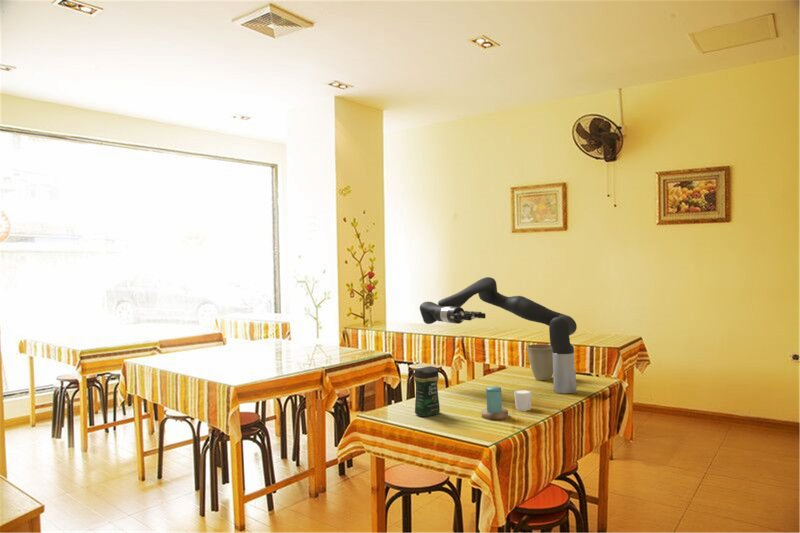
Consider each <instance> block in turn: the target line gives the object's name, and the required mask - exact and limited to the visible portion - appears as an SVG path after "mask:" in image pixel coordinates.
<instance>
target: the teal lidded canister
mask: <svg viewBox="0 0 800 533" xmlns="http://www.w3.org/2000/svg"><path fill="white" fill-rule="evenodd" d="M485 390H486V392H485V393H486V397H485V398H486V408H487V412H488V413H501V412H502V408H503V400H502V396H503V395H502V387H501V386H499V385H498V386H497V385H491V386H486V388H485Z"/></svg>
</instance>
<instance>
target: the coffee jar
mask: <svg viewBox="0 0 800 533" xmlns="http://www.w3.org/2000/svg"><path fill="white" fill-rule="evenodd" d="M413 376H414V377H413V379H414V382H415V403H414V414H416V415H417V416H418V417H432V416H434V415H438V414H439V413H440V412H441V410H440V400H439V399H440V397H439V392H438V391H439V390H438V389H439V387H438V383H439V382H438V381H439V378H440V377H439V370H438V368H437V367H436V366H431V365H429V366H425V367H420V368H416V369H414V375H413Z"/></svg>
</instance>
